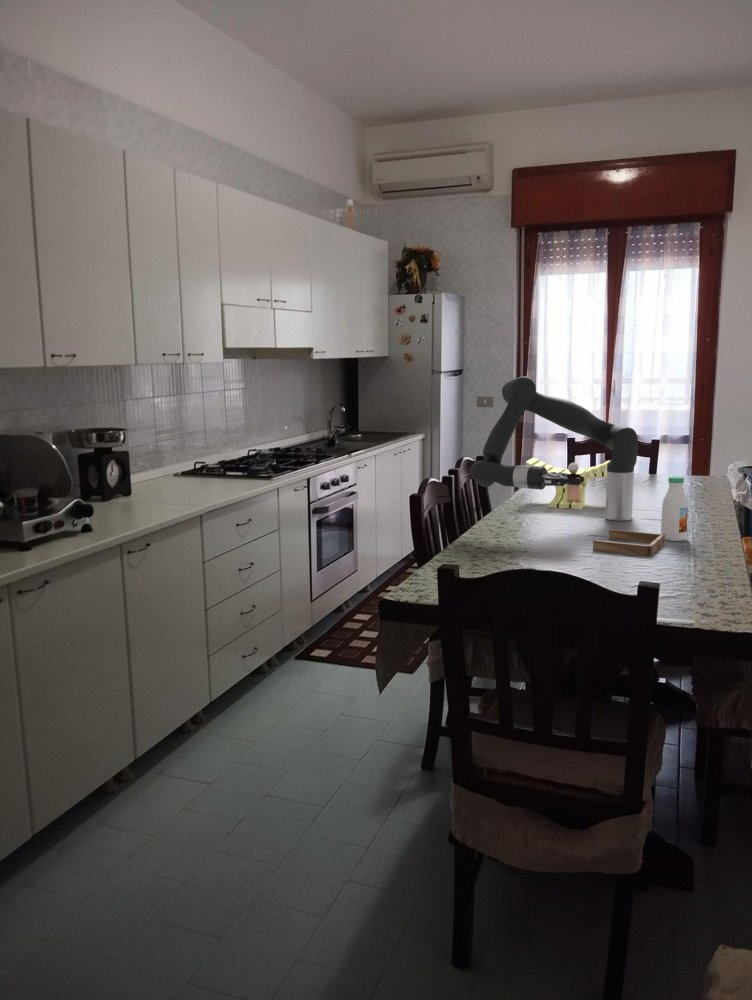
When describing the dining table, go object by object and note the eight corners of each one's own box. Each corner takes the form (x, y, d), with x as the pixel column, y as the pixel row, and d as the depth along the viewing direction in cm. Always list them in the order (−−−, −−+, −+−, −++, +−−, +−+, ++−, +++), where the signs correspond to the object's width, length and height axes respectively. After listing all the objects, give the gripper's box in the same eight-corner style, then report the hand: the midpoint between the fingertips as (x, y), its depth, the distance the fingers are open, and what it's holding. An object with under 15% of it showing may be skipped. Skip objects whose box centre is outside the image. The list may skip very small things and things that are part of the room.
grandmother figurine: (583, 500, 254) (584, 461, 251) (585, 503, 250) (587, 463, 248) (558, 501, 254) (559, 461, 252) (561, 503, 250) (562, 463, 248)
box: (609, 538, 256) (610, 529, 256) (664, 543, 247) (664, 534, 247) (592, 550, 241) (593, 540, 241) (650, 556, 232) (650, 546, 232)
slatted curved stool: (609, 503, 315) (610, 458, 312) (603, 510, 301) (605, 464, 298) (534, 499, 327) (535, 456, 324) (525, 506, 313) (525, 461, 310)
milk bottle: (670, 542, 249) (673, 479, 245) (655, 537, 256) (658, 476, 253) (691, 540, 251) (694, 478, 247) (676, 535, 258) (679, 474, 255)
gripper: (521, 468, 252) (575, 472, 242) (537, 463, 263) (589, 466, 254) (521, 491, 253) (574, 496, 244) (537, 485, 265) (588, 489, 255)
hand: (581, 480), depth 249 cm, fingers closed on grandmother figurine, 3 cm apart
